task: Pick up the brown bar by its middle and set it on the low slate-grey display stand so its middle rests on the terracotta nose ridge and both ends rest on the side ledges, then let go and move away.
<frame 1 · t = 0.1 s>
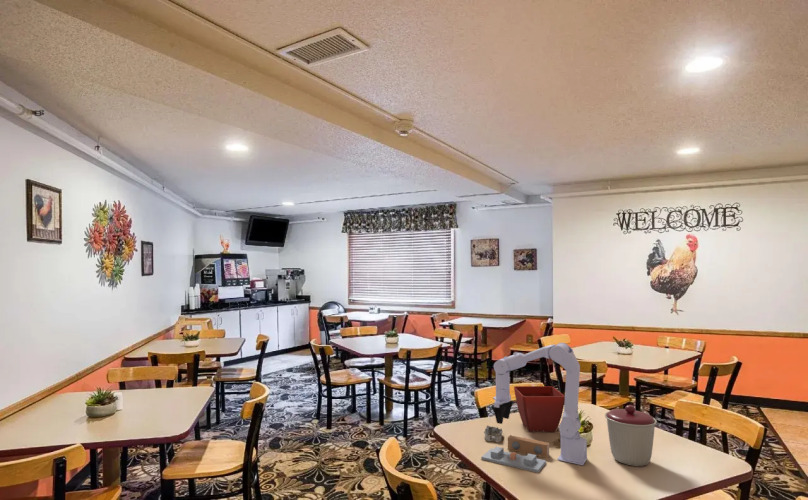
hand: (502, 420, 196), 10 cm above the table, tool pointing down, fingers open, 7 cm apart
plant pot: (538, 427, 218), on the table
canister: (630, 461, 180), on the table
display stand: (513, 461, 179), on the table
brown bar: (528, 452, 188), on the table
stone castle ruin: (493, 438, 204), on the table
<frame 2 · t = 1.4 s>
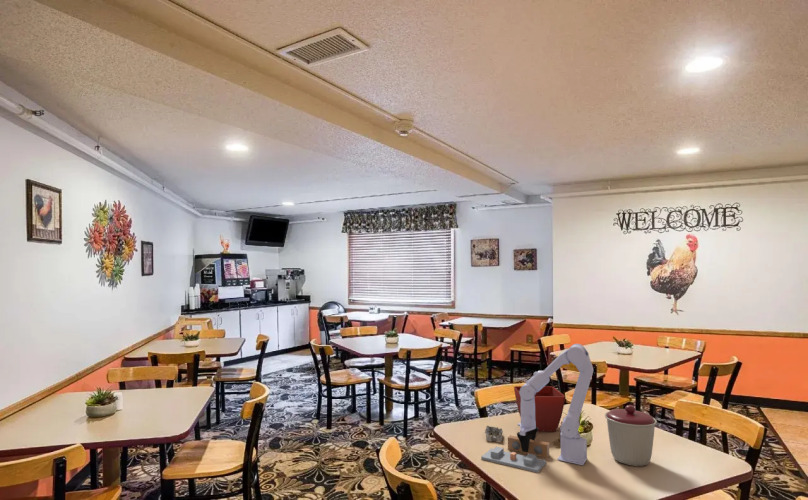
hand: (528, 448, 188), 1 cm above the table, tool pointing down, fingers open, 7 cm apart
nothing on the table moved.
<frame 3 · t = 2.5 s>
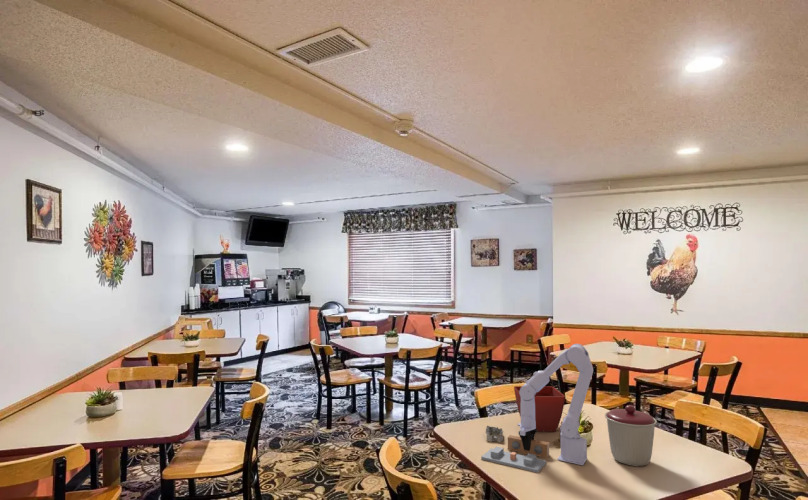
hand: (528, 448, 188), 1 cm above the table, tool pointing down, fingers closed on brown bar, 3 cm apart
brown bar: (528, 452, 188), on the table, touching gripper
everything else where it was.
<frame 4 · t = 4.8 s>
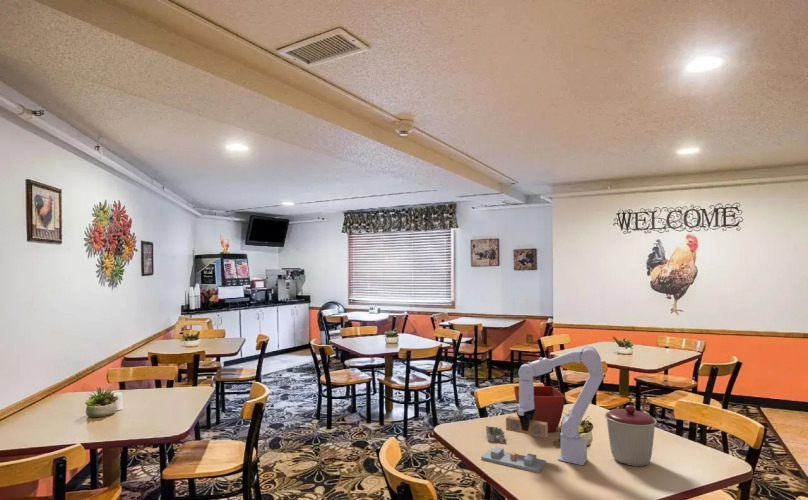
hand: (526, 429, 188), 9 cm above the table, tool pointing down, fingers closed on brown bar, 3 cm apart
brown bar: (526, 432, 188), point 8 cm above the table, touching gripper
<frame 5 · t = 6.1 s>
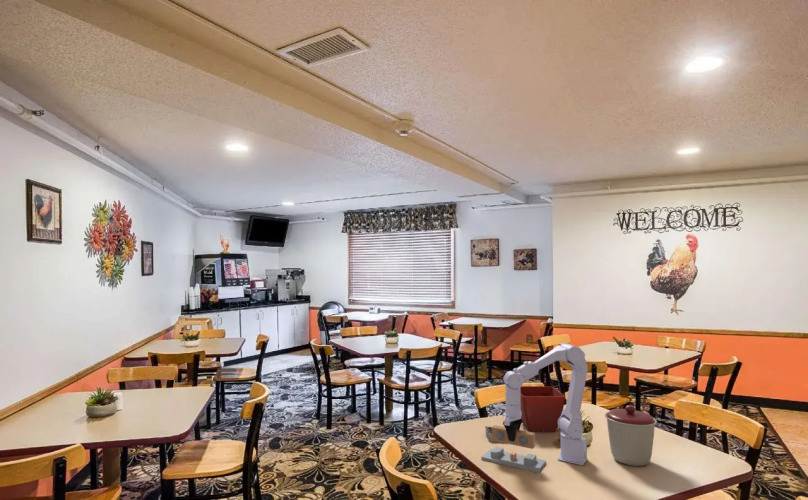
hand: (513, 439, 179), 8 cm above the table, tool pointing down, fingers closed on brown bar, 3 cm apart
brown bar: (513, 443, 179), point 7 cm above the table, touching gripper
when the fingers open (6 cm above the table, at t = 7.2 s): brown bar drops 2 cm, resting on display stand.
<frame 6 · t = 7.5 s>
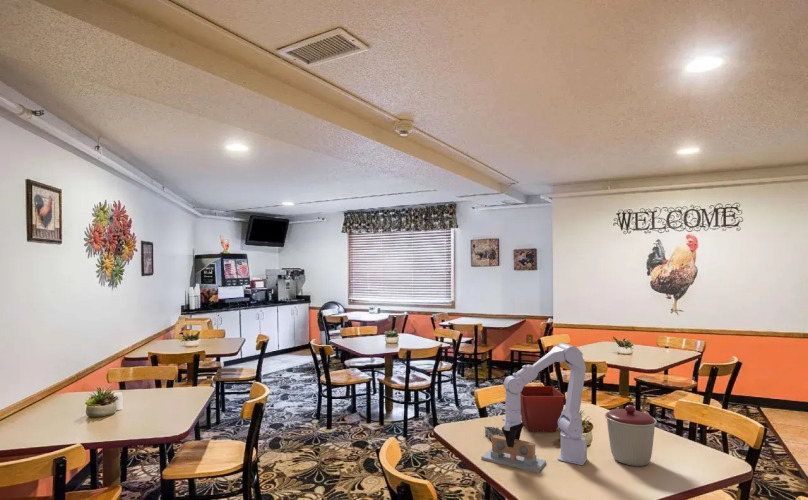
hand: (513, 444, 179), 6 cm above the table, tool pointing down, fingers open, 6 cm apart
brown bar: (513, 453, 179), point 3 cm above the table, touching display stand
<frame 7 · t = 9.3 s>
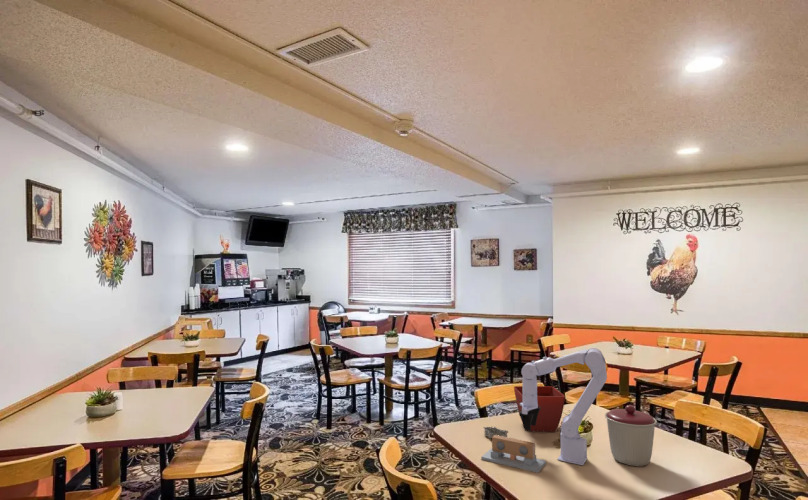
hand: (530, 427, 188), 10 cm above the table, tool pointing down, fingers open, 7 cm apart
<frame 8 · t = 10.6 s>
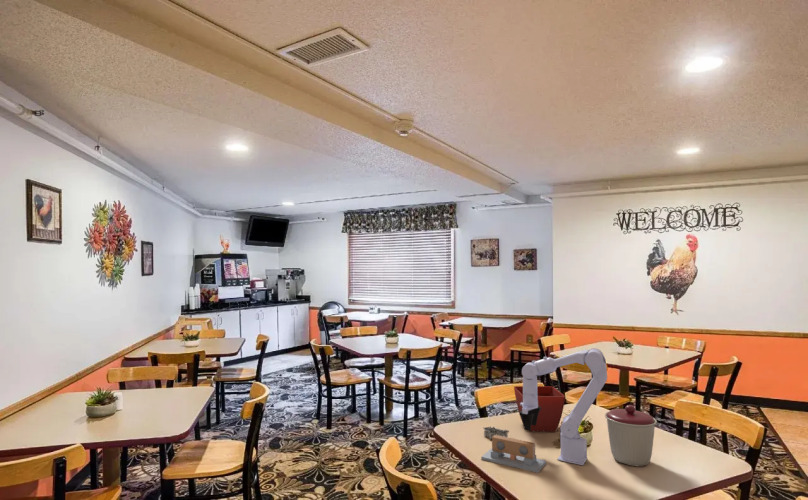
hand: (530, 427, 188), 10 cm above the table, tool pointing down, fingers open, 7 cm apart
at the end: brown bar 0.0 cm off-centre on the display stand, point 3.0 cm above the display stand's base; brown bar tilted 0°; the gripper is holding nothing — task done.
